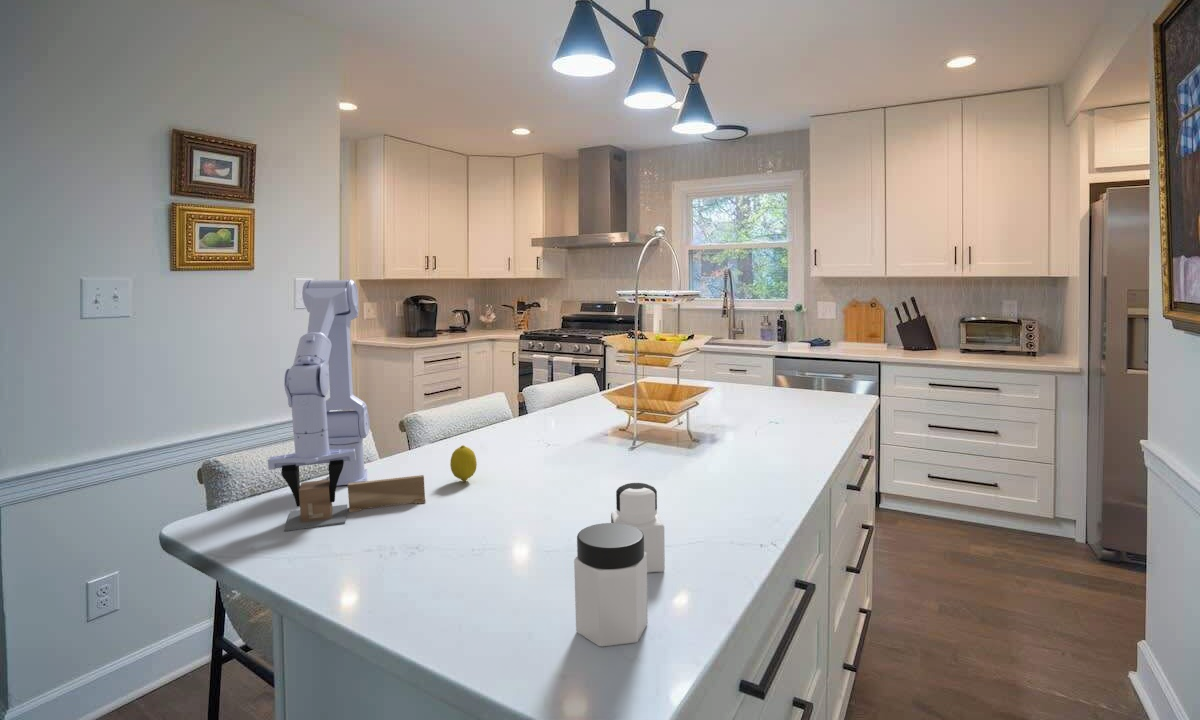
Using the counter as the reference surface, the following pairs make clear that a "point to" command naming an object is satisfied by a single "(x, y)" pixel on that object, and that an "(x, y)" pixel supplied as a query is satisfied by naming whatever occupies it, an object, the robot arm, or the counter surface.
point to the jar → (611, 584)
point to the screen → (386, 492)
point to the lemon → (463, 463)
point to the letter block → (315, 501)
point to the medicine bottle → (642, 520)
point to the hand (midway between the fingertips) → (316, 502)
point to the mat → (336, 518)
